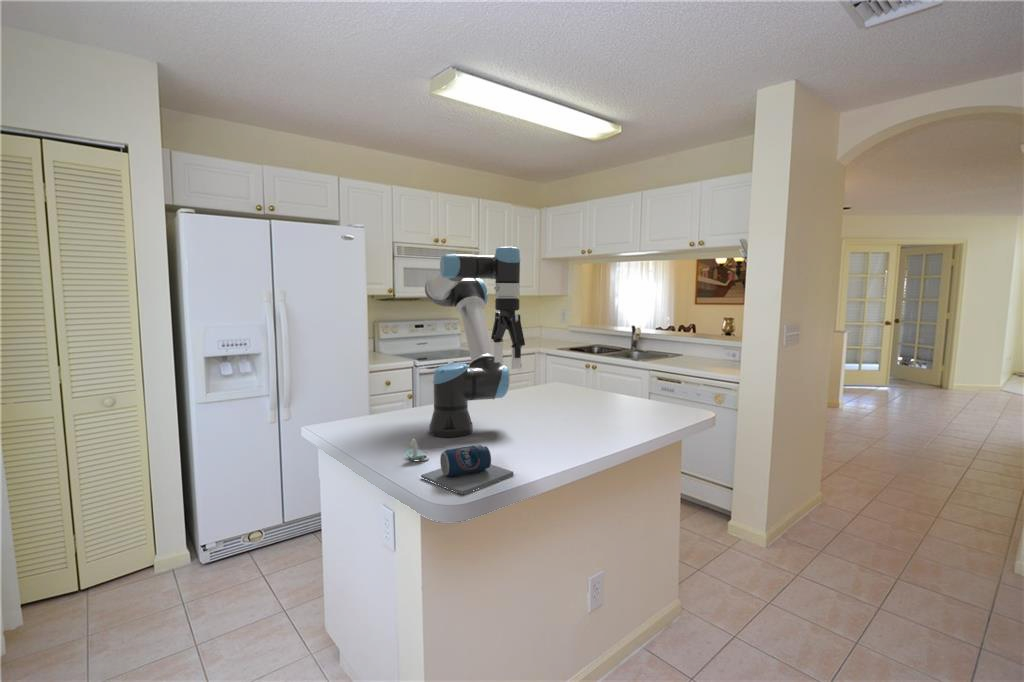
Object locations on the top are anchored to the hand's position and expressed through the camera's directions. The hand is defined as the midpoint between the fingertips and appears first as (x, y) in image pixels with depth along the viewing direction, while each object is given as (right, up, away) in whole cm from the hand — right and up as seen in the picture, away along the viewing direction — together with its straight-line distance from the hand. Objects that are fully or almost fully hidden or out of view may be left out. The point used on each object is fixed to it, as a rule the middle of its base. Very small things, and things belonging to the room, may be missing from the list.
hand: (506, 365), depth 155 cm
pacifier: (-26, -27, -12) cm, 39 cm away
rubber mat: (-10, -28, -26) cm, 40 cm away
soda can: (-16, -24, -29) cm, 41 cm away
